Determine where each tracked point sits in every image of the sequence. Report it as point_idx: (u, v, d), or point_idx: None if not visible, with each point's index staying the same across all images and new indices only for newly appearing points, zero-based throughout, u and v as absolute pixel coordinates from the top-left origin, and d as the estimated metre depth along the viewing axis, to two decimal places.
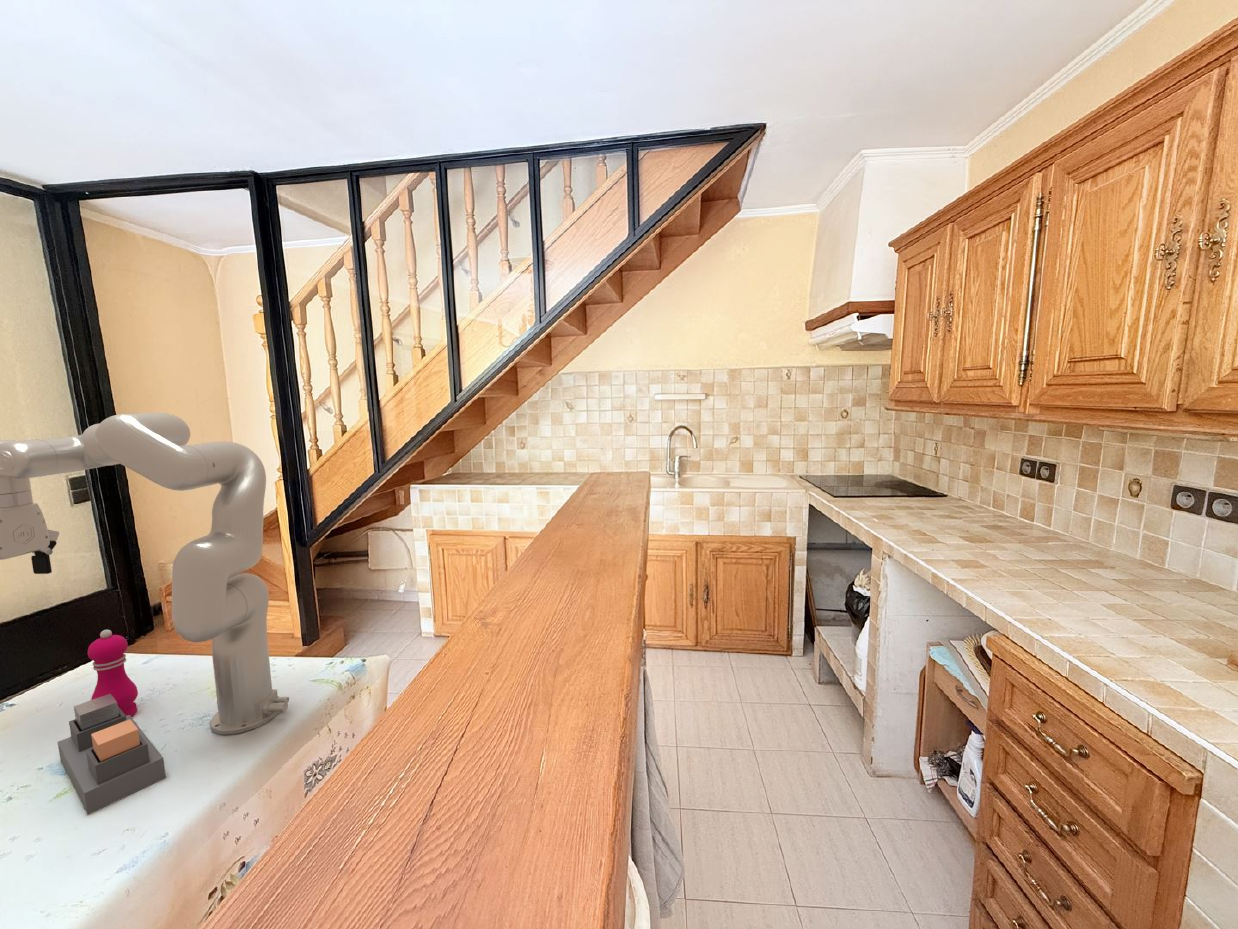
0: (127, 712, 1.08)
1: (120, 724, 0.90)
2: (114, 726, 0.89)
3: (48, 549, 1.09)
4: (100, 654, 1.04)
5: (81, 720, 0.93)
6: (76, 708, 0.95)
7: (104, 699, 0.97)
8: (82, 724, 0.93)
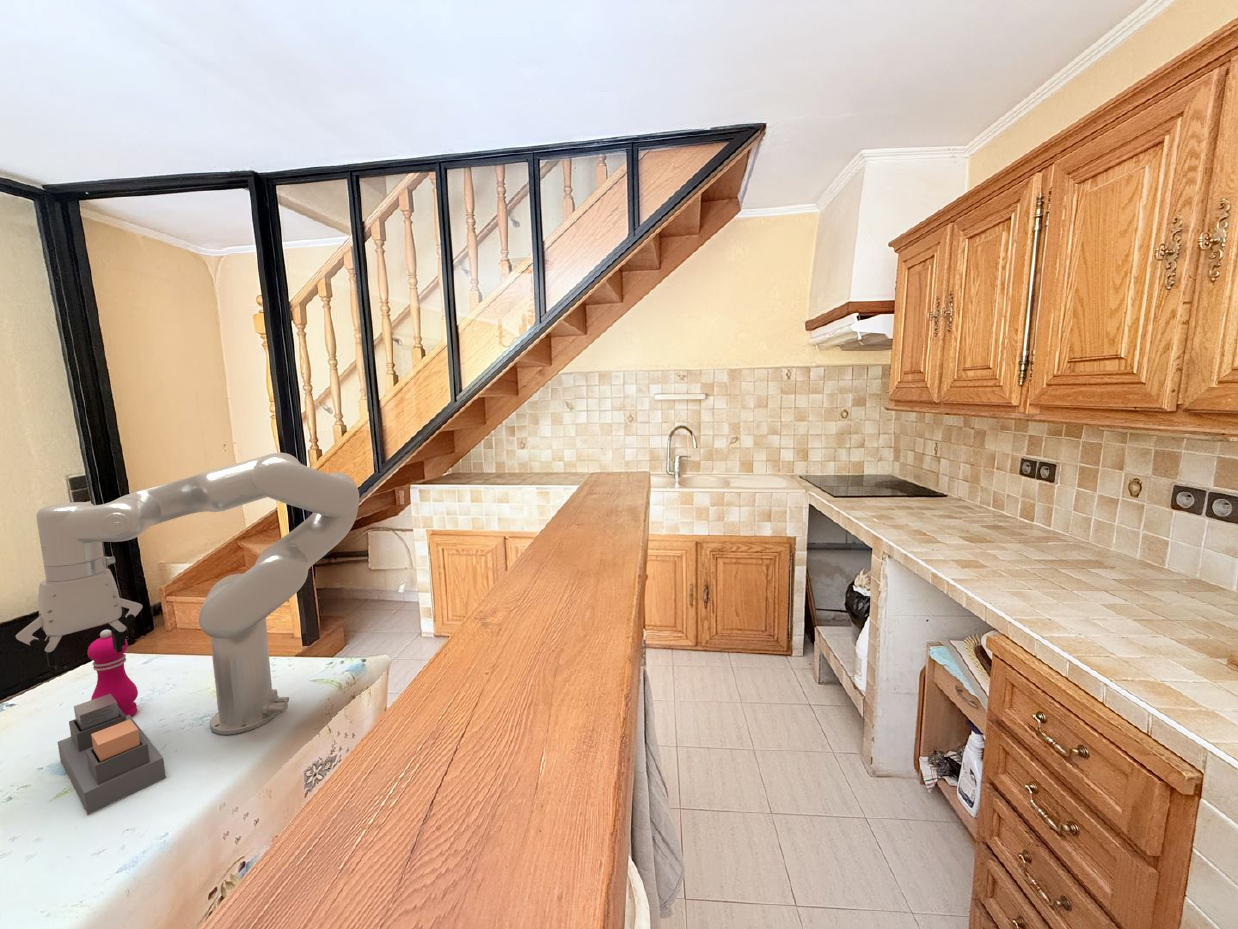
0: (127, 712, 1.08)
1: (120, 724, 0.90)
2: (114, 726, 0.89)
3: None
4: (100, 654, 1.04)
5: (81, 720, 0.93)
6: (76, 708, 0.95)
7: (104, 699, 0.97)
8: (82, 724, 0.93)
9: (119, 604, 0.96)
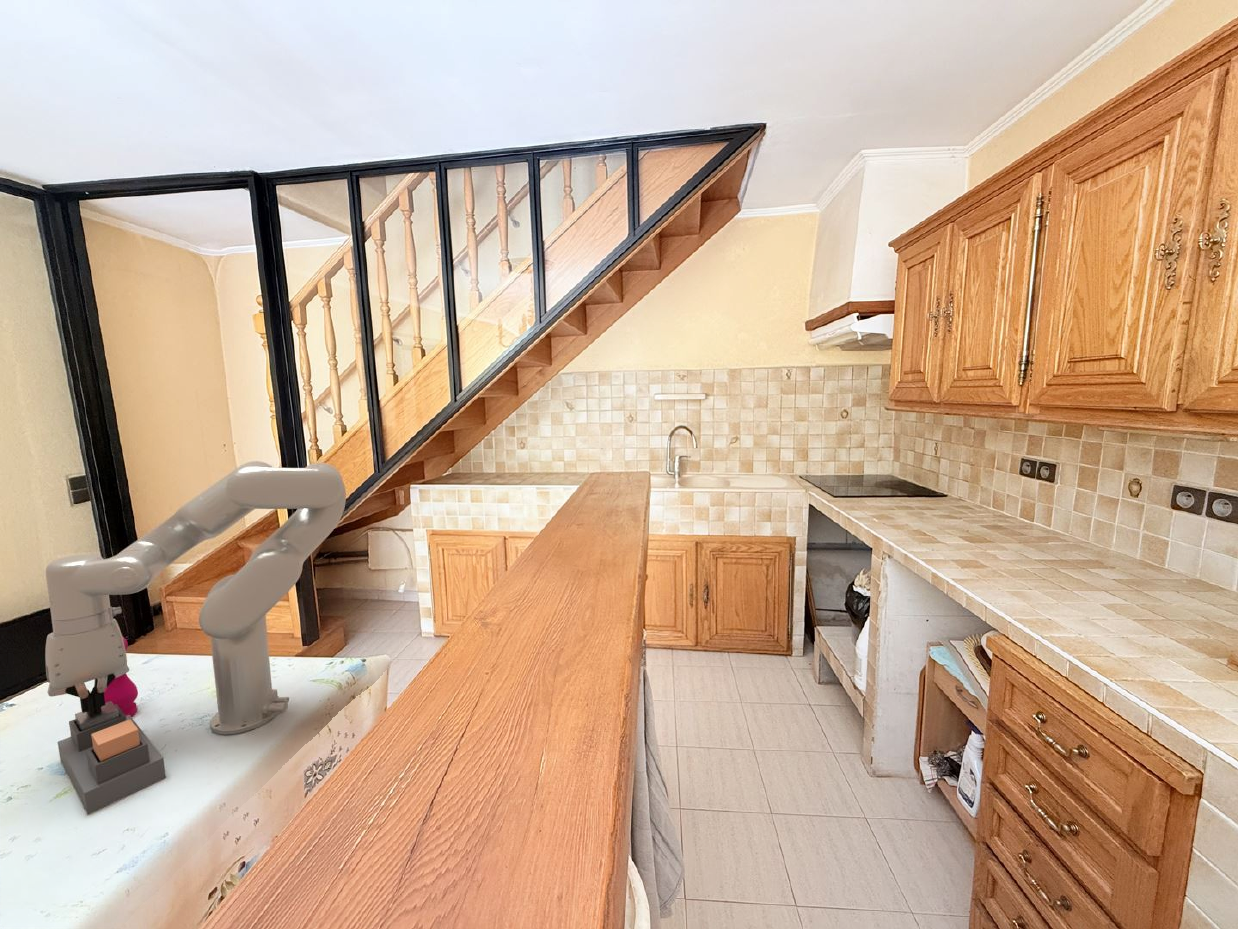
0: (127, 712, 1.08)
1: (120, 724, 0.90)
2: (114, 726, 0.89)
3: None
4: None
5: (82, 728, 0.93)
6: (77, 716, 0.95)
7: (105, 707, 0.98)
8: None
9: (124, 654, 0.97)
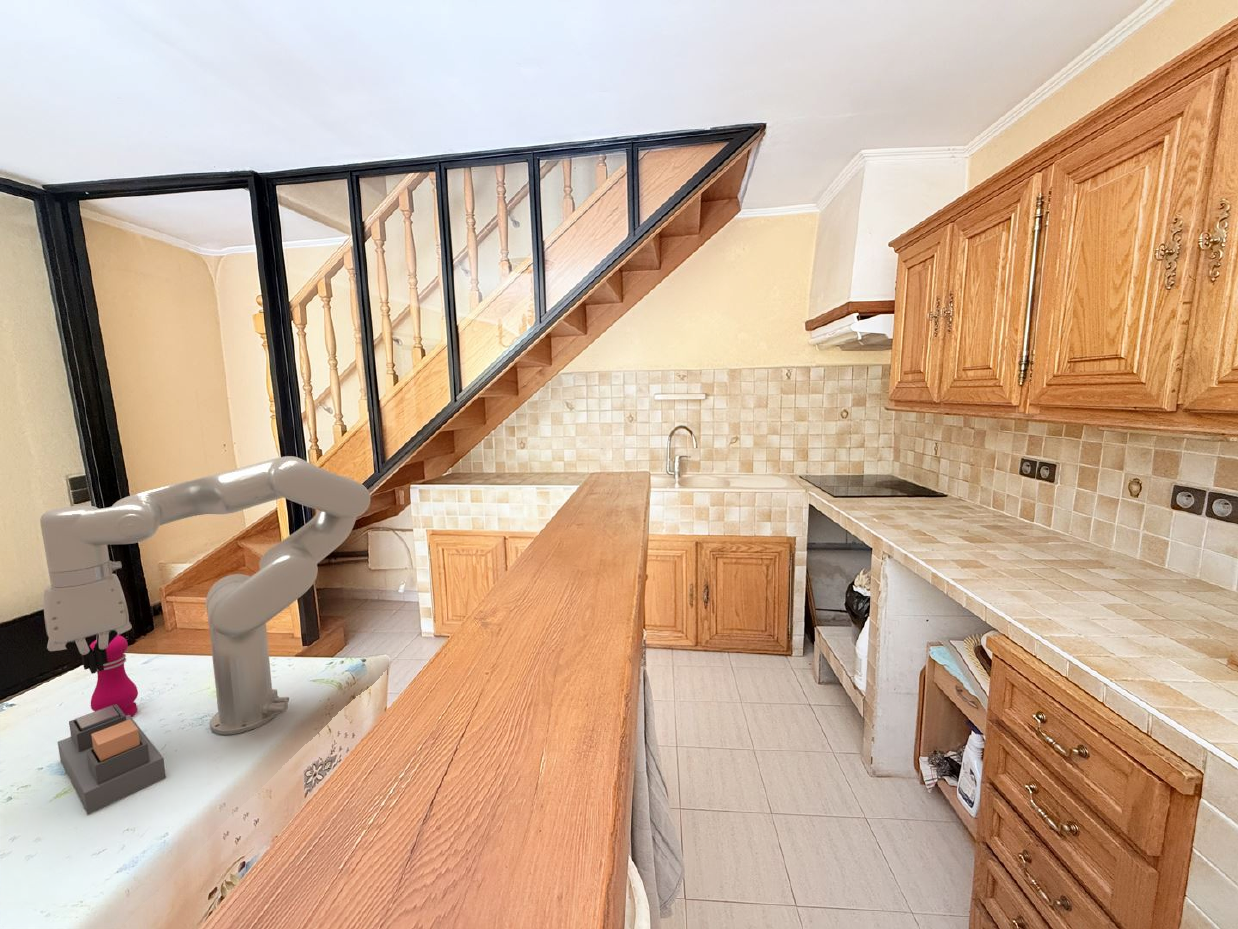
0: (127, 712, 1.08)
1: (120, 724, 0.90)
2: (114, 726, 0.89)
3: None
4: None
5: None
6: (78, 720, 0.95)
7: (106, 711, 0.98)
8: None
9: (125, 610, 0.94)
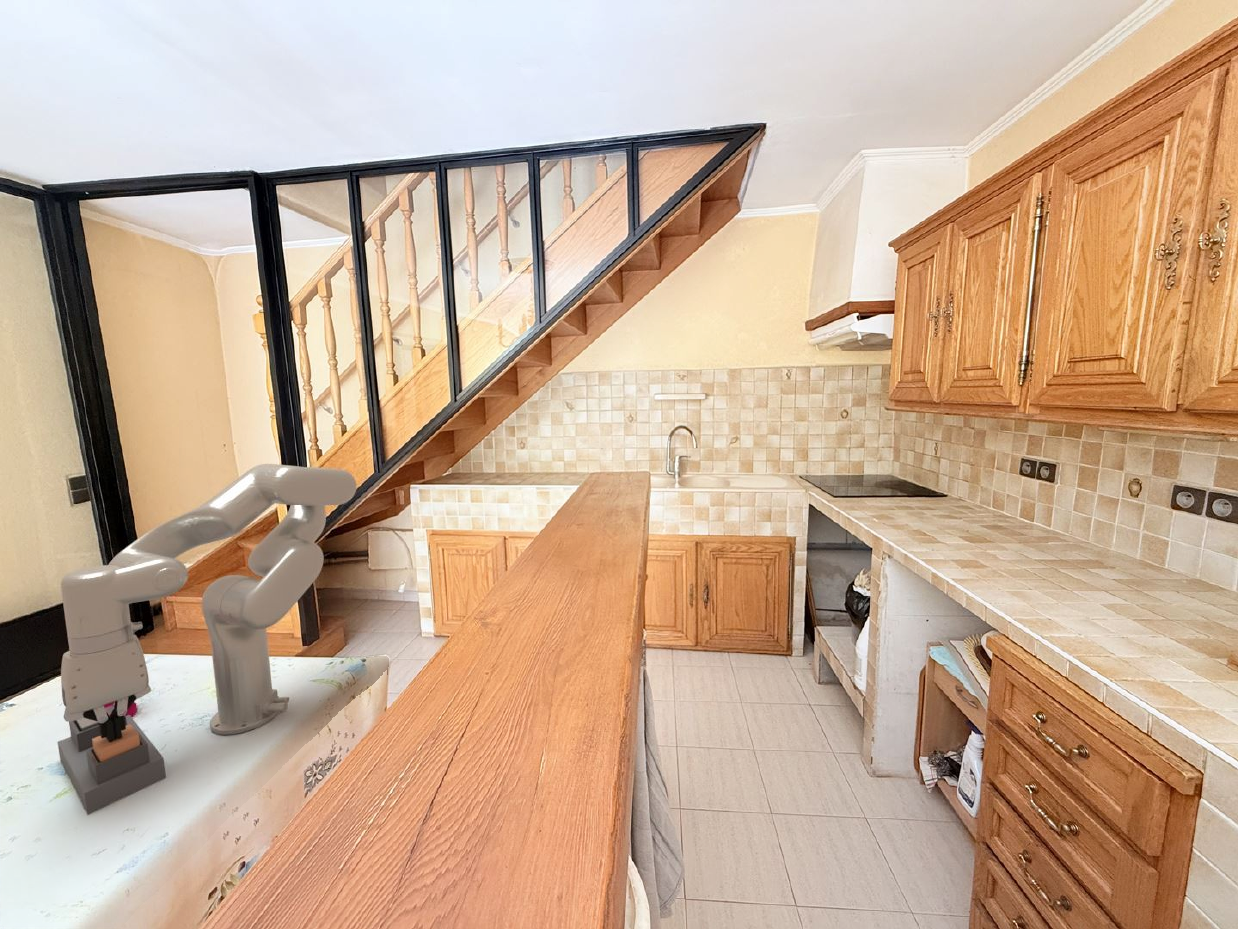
0: (127, 712, 1.08)
1: None
2: None
3: None
4: None
5: None
6: (78, 720, 0.95)
7: (106, 711, 0.98)
8: None
9: (146, 673, 0.90)
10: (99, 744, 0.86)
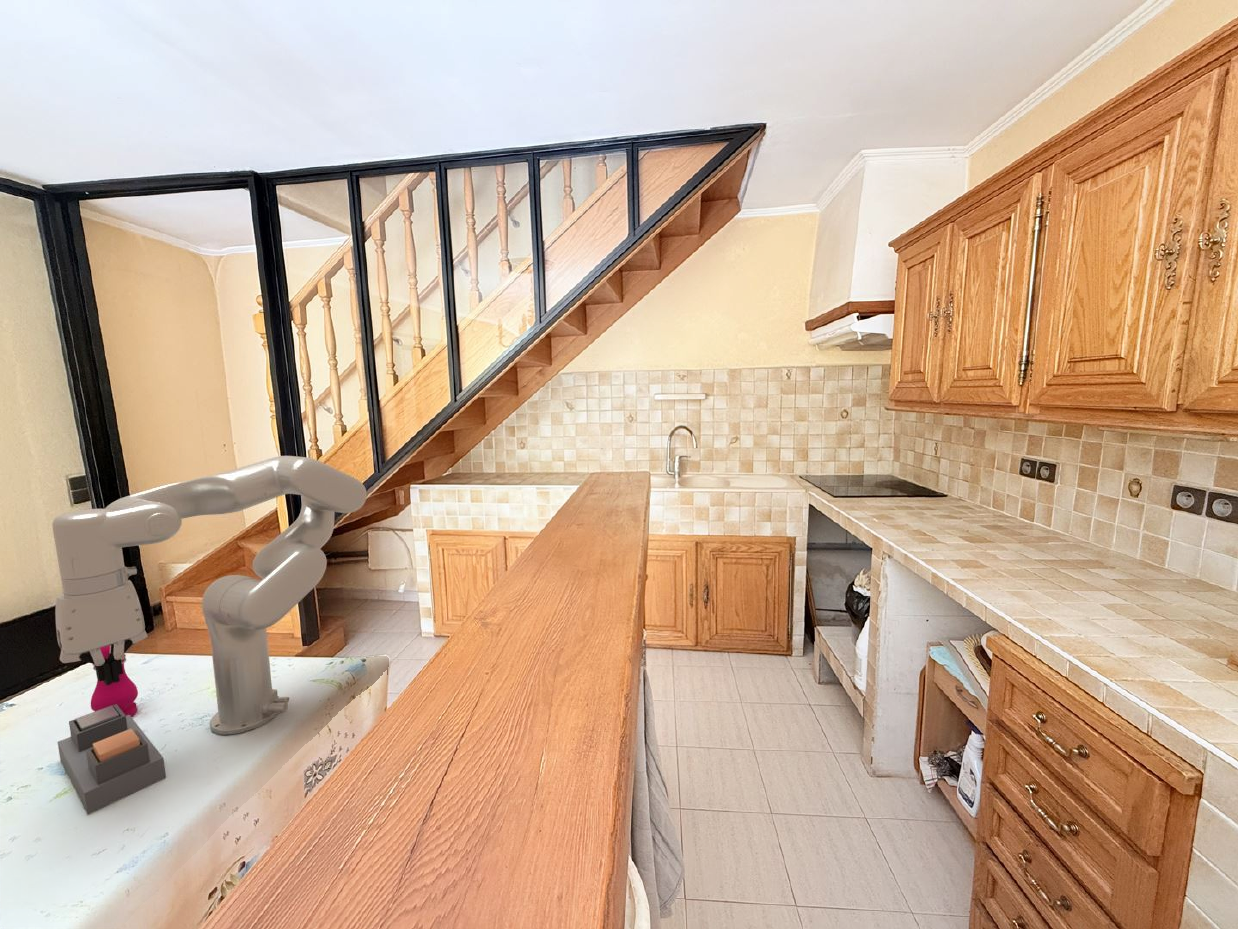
0: (127, 712, 1.08)
1: (121, 733, 0.90)
2: (115, 736, 0.90)
3: None
4: None
5: None
6: (78, 720, 0.95)
7: (106, 711, 0.98)
8: None
9: (142, 618, 0.89)
10: (100, 749, 0.86)
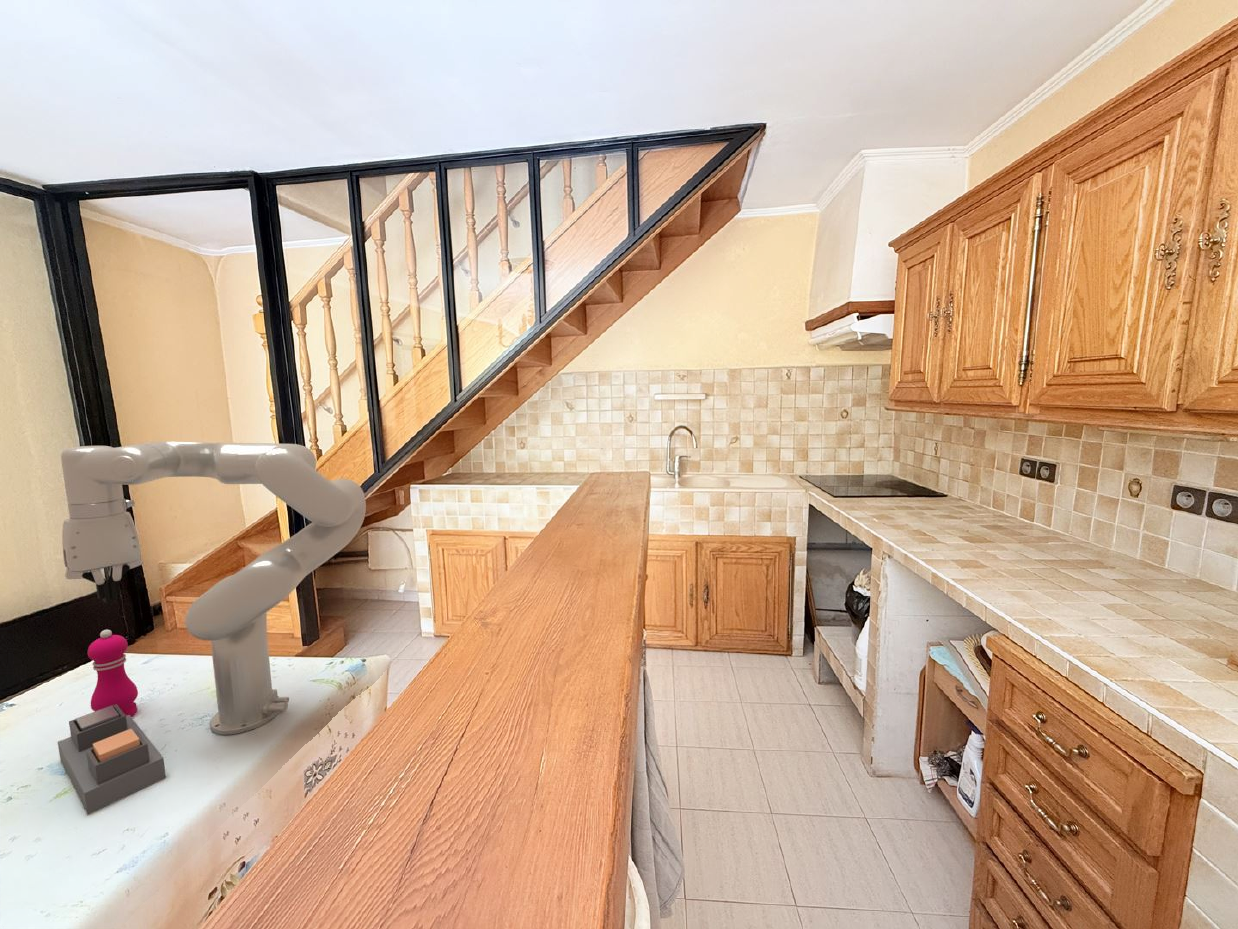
0: (127, 712, 1.08)
1: (121, 733, 0.90)
2: (115, 736, 0.90)
3: None
4: (100, 654, 1.04)
5: None
6: (78, 720, 0.95)
7: (106, 711, 0.98)
8: None
9: (138, 545, 1.00)
10: (100, 749, 0.86)
